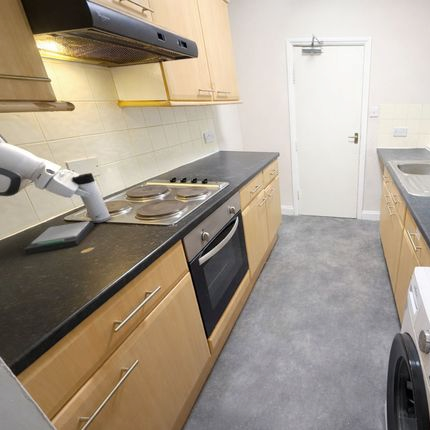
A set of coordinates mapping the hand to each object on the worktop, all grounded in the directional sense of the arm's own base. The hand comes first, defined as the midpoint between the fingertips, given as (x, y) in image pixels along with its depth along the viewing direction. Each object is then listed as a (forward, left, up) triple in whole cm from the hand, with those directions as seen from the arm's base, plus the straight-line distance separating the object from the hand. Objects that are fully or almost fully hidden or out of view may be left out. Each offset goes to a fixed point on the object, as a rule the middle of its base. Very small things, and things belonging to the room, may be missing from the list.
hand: (92, 193), depth 106 cm
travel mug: (-1, 0, -12) cm, 12 cm away
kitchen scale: (-9, -13, -12) cm, 20 cm away
